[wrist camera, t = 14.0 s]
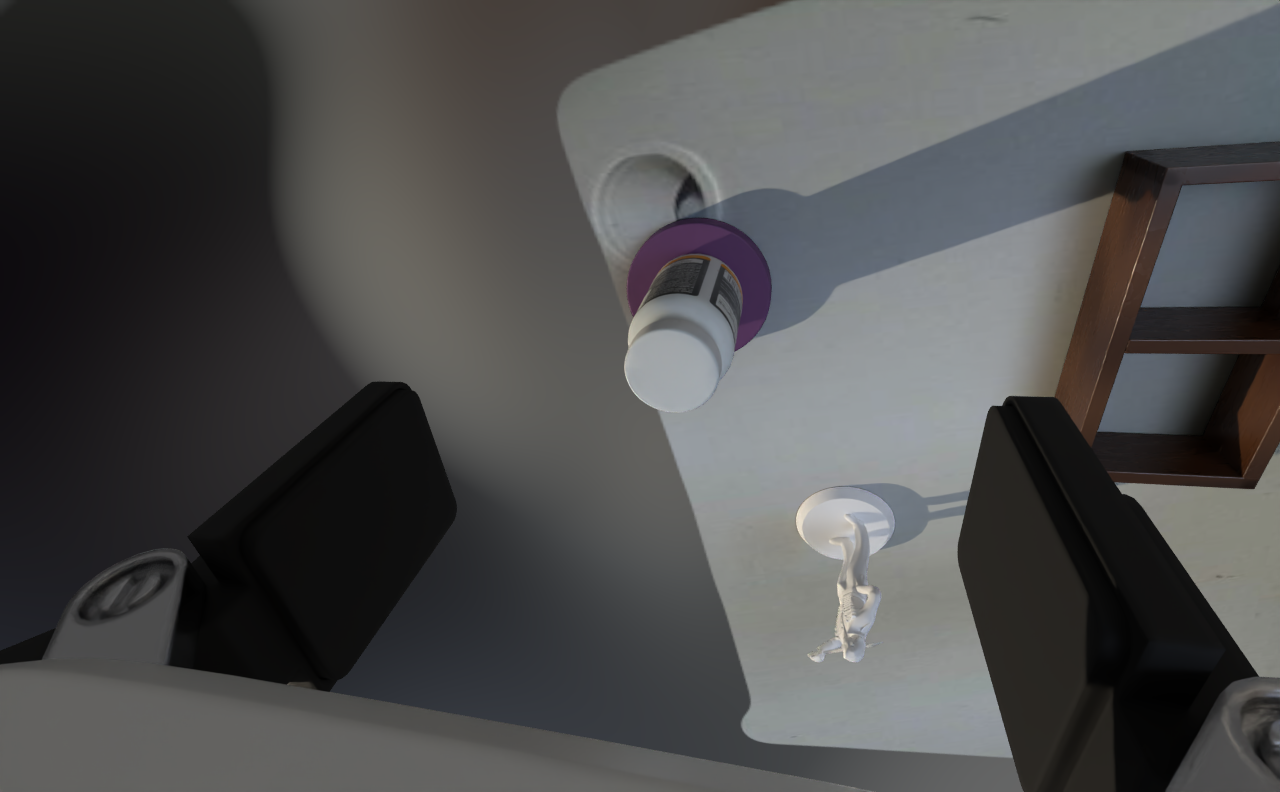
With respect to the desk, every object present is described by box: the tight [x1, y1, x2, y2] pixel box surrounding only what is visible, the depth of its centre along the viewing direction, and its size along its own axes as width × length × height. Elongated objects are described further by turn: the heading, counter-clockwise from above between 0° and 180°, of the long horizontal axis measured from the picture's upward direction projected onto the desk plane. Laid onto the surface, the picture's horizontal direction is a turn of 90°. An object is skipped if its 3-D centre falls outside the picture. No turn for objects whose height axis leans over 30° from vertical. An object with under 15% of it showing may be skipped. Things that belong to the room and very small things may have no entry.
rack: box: [1054, 142, 1280, 489], centre depth 31 cm, size 17×9×4 cm, turn 6°
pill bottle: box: [624, 254, 743, 413], centre depth 33 cm, size 6×6×10 cm
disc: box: [627, 218, 772, 352], centre depth 37 cm, size 9×9×1 cm
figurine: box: [796, 487, 895, 662], centre depth 40 cm, size 7×7×12 cm
